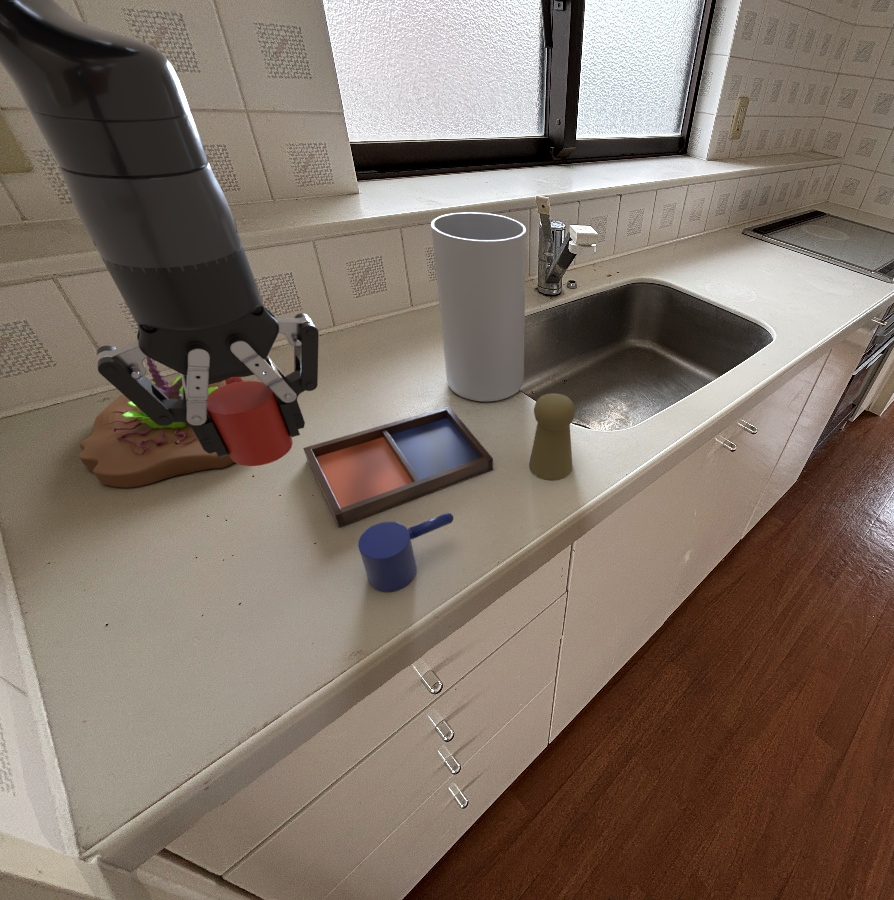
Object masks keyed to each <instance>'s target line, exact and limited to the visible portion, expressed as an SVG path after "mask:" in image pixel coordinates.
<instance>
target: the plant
mask: <svg viewBox="0 0 894 900" xmlns="http://www.w3.org/2000/svg"><path fill="white" fill-rule="evenodd" d="M145 359H146V365H147V366H148V372H149V373H150V375H151V378H152V383H153V384H154V385H155V386H156V387H157V388H159V389H160V390H161V391H162V392H163V393H164V394H165V395H166V396H167V397H168V398H169V399H183V385H182V374H180V375H178V377H177V378H176V379H174V381H171V382H168V380H167V379H165V378H164V375H163V374H161V371H160V370H159V369H158V365H157V364H156V363H155V362H156V361H155V360H153V359H151V358H149V357H146V358H145ZM242 381H247V380H244V379H242ZM225 385H226V382H225V380H224V381H221V382H218V383H214V384H209V385H208V395H209V394H210V393H211V392H213V391H214V390H216V389H218V388H220V387H222V386H225ZM78 446H79V447H80V449H81V450H82V451H81V452H80V453H79V455H78V458H79V459H80V461H81V462H82V464H83V465H84V466H85V468H86V469H87V470H88V471H89V472H91V473H93V474H94V476H95V477H96V478H97V480H98V481H99V482H100V483H101V484H102V485H105V486H110V487H114V488H124V489H125V488H138V487H141V486H146V485H150V484H154V483H157V482H159V481H162V480H167V479H169V478H172V477H175V476H180V475H186V474H190V473H194V472H195V473H197V472H200V471H206V470H212V469H224V468H228V467H229V466H230V465H233V464H234V463H235V462H234V461H232V459H231V458H230V456H229V455H227V456H223V457H220V458H219V457H218V455H217V453H216V452H214V453H210V454H209V453H207V452H206V451H205V450H204V449H203V448H202V446H201V444H200V442H199V440H198V438H197V436H196V435H195V433H194V431H193V429H192V427H191V426H190V425H189V424H187V423H183V422H173V423H172V424H170V425H167V426H161V425H158V424H156V423H155V422H154V421H152V420H151V419H150V418H149V417H148V416H147V415H146V414H145V413H143V412H142V411H141V410H140V409H139V408H138V407H137V406H136V405H135V404H133V403H132V402H131V401H130V400H129V399H128V398H127V397H126V396H125V395H123V394H120V395H119V396H118V397H117V398H116V399H115V400H113V401H112V402H110V403H109V404H108V405H107V406H106V407H105V408H104V409H103V410H102V411H101V412H100V413H98V414H97V415H96V417H95V419H94V422H93V426H92V432H91V433H90V435H89V436H88V437H87V438H85V439H83V440H82V441H81V442H79V443H78ZM235 464H236V463H235Z"/></svg>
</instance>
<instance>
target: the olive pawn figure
mask: <svg viewBox="0 0 894 900" xmlns="http://www.w3.org/2000/svg"><path fill="white" fill-rule="evenodd" d="M575 413H576V408H575V405H574V402H573V401H572V399H570V398H569V397H568V396H566V395H564V394H561V393H551V392H550V393H546V394H543V395H541V396H540V397H539V398H538V399H537V400H536V401H535V404H534V407H533V414H534V419H535V421H536V422H537V423H536V429H535V434H534V439H533V444H532V448H531V453H530V457H529V463H528V466H529V470H530V472H531V473H532V474H533V475H534V476H536V477H537V478H539V479H542V480H546V481H559V480H562V479H565V478H566V477H567V476H569V475H570V474H571V472H572V471H573V453H572V438H571V424H572V423H573V421H574V418H575Z"/></svg>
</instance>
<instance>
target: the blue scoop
mask: <svg viewBox="0 0 894 900" xmlns="http://www.w3.org/2000/svg"><path fill="white" fill-rule="evenodd" d="M454 519H455V518H454V515H453V514H452V513H450V512H445V513H443V514H440V515H437V516H435V517H433V518H430V519H428V520H426V521H423V522H420V523H418V524H415V525H413V526H411V527H408V528H407V527H406V525H404V524H402V523H399V522H395V521H383V522H379V523H376V524H373V525H371V526H370V527H368V528H367V529H365V530H364V531H363V533H362V534H361V535H360V537H359V539H358V543H357V546H358V551H359V553H360V557H361V560H362V564H363V566H364V570H365V573H366V576H367V578H368V583H369V584H370V586H371V587H372V588H373V589H374V590H377V591H379V592H382V593H392V592H393V593H394V592H397V591H399V590H402V589H404V588H405V587H406V586H409V585H410V583H411V582H412V581H413V580H414V579H415V577H416V574H417V568H418V567H417V563H416V558H415V553H414V548H413V544H412V540H414V539H416V538H419V537H421V536H423V535H424V536H425V535H426V534H428V533H431V532H433V531H436V530H438V529H440V528H442V527H443V528H444V527H446V526H448V525H450V524H452V523H453V521H454Z"/></svg>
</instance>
